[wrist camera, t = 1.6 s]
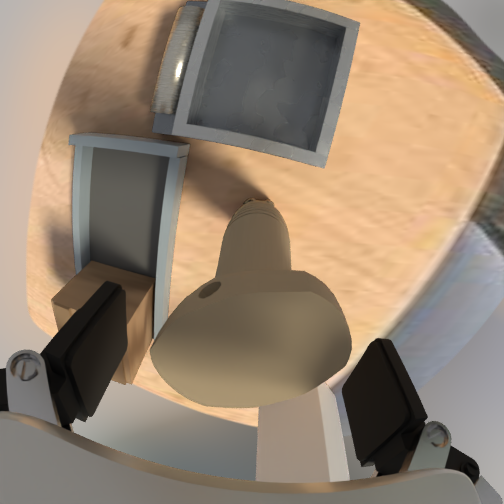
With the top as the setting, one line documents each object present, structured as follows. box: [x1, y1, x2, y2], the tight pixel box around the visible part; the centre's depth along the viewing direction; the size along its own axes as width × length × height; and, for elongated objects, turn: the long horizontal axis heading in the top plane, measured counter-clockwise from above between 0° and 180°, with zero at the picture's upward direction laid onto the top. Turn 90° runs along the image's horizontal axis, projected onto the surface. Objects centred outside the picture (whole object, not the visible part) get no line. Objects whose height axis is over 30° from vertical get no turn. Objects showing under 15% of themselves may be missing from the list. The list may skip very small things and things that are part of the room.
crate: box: [51, 261, 156, 385], centre depth 22 cm, size 7×7×7 cm
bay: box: [69, 132, 190, 340], centre depth 22 cm, size 20×9×3 cm, turn 167°
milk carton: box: [256, 382, 350, 483], centre depth 22 cm, size 7×7×19 cm
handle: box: [150, 198, 352, 408], centre depth 15 cm, size 5×6×15 cm
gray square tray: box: [150, 0, 360, 168], centre depth 15 cm, size 11×12×4 cm
